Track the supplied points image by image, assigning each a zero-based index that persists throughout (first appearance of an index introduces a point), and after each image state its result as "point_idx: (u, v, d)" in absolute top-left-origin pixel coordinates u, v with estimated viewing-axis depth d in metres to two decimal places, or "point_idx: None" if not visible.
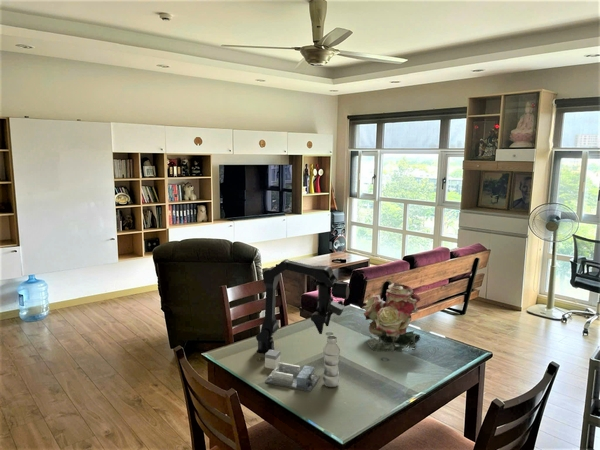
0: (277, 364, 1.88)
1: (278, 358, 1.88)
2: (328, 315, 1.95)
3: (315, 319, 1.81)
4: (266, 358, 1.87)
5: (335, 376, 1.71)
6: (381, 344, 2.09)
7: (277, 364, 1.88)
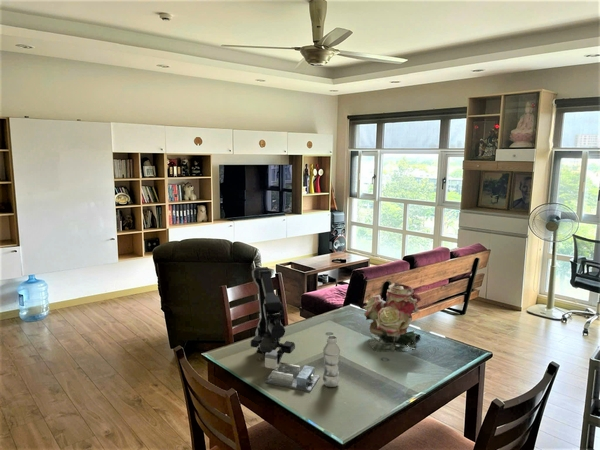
0: (277, 364, 1.87)
1: None
2: None
3: None
4: (266, 358, 1.87)
5: (335, 376, 1.71)
6: (381, 344, 2.09)
7: None
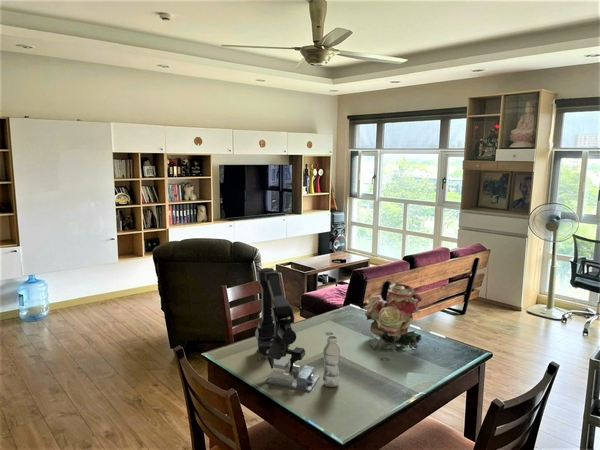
0: None
1: (287, 368, 1.78)
2: None
3: None
4: (274, 368, 1.77)
5: (335, 376, 1.71)
6: (382, 344, 2.09)
7: None
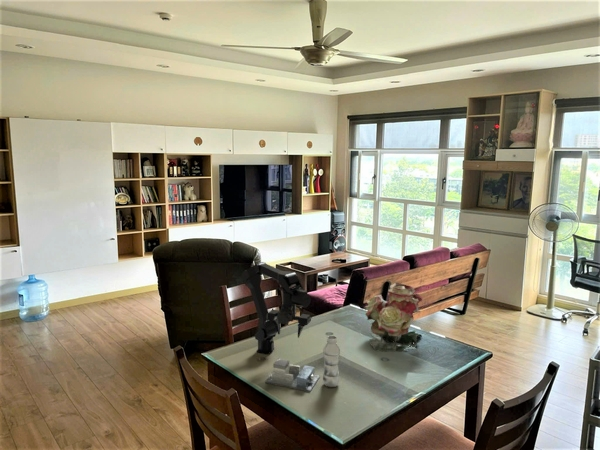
0: None
1: (287, 368, 1.78)
2: None
3: None
4: (274, 368, 1.77)
5: (335, 376, 1.71)
6: (383, 344, 2.09)
7: None
